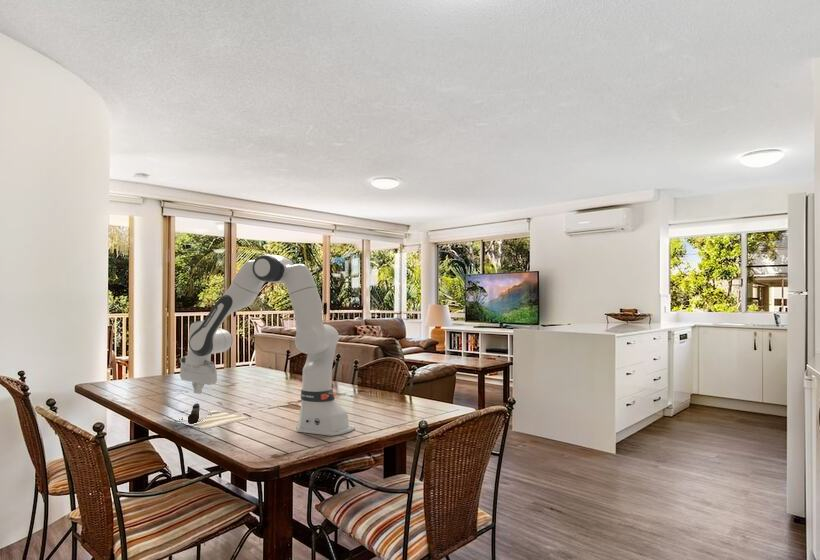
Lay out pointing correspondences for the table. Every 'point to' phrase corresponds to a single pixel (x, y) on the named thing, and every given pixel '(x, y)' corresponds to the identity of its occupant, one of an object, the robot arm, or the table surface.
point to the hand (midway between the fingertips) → (197, 393)
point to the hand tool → (194, 414)
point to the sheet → (218, 419)
